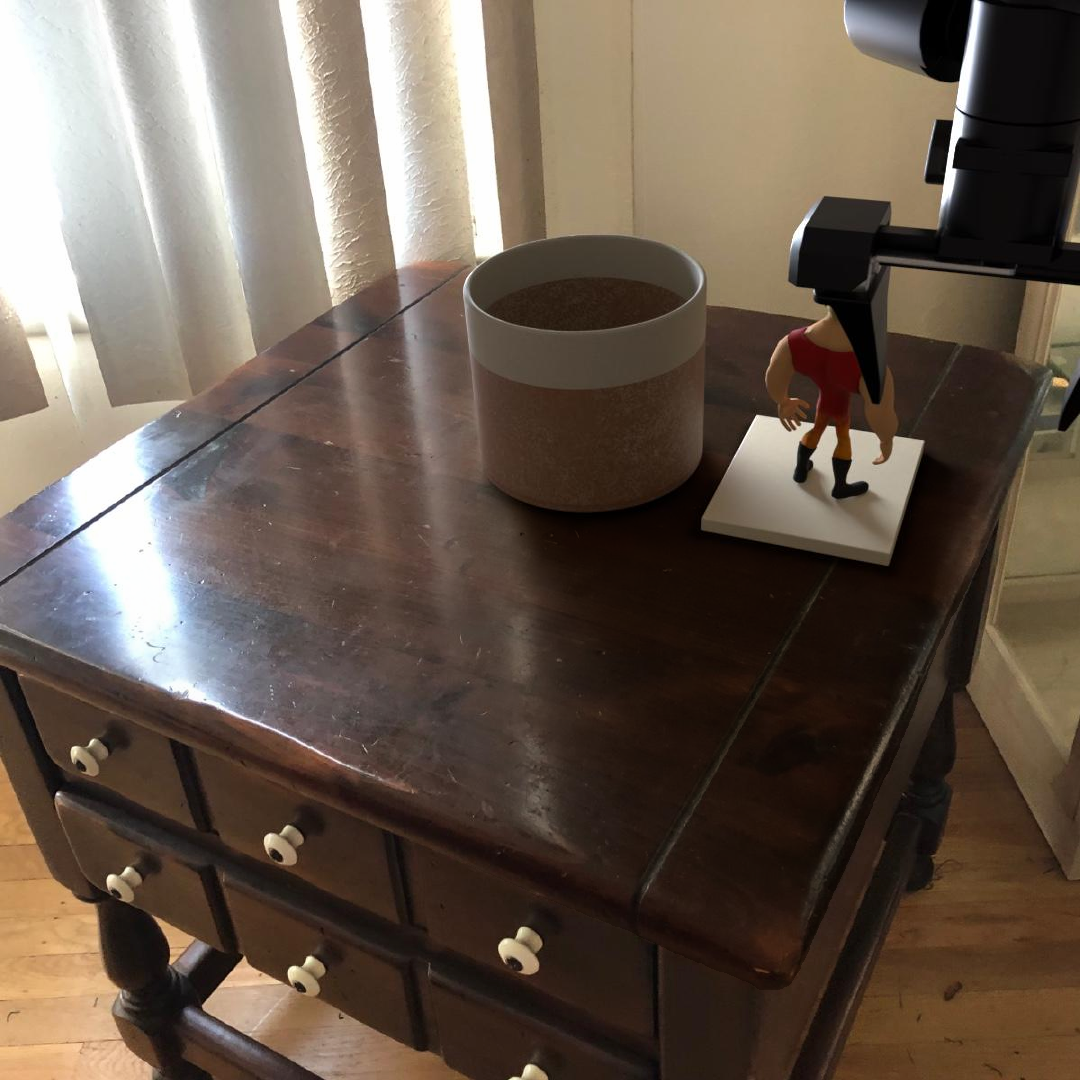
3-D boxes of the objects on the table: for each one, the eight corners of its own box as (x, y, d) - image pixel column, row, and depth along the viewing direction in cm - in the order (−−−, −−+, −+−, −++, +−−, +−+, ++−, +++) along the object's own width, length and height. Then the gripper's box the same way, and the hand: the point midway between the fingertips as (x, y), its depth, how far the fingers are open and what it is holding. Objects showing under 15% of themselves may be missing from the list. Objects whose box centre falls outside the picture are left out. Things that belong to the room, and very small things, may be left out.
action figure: (903, 497, 75) (936, 282, 66) (873, 522, 73) (904, 303, 64) (782, 449, 81) (798, 244, 72) (752, 470, 79) (764, 263, 70)
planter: (709, 408, 88) (715, 234, 80) (692, 528, 75) (697, 337, 67) (507, 400, 91) (492, 231, 83) (458, 514, 78) (435, 329, 70)
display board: (923, 452, 81) (925, 440, 81) (888, 566, 71) (890, 553, 70) (755, 426, 85) (756, 414, 85) (700, 530, 75) (701, 518, 75)
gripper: (1252, 69, 54) (1164, 369, 63) (846, 52, 60) (821, 326, 69) (1268, 142, 45) (1164, 474, 55) (797, 114, 52) (775, 415, 61)
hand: (966, 413), depth 60 cm, fingers open, 9 cm apart
